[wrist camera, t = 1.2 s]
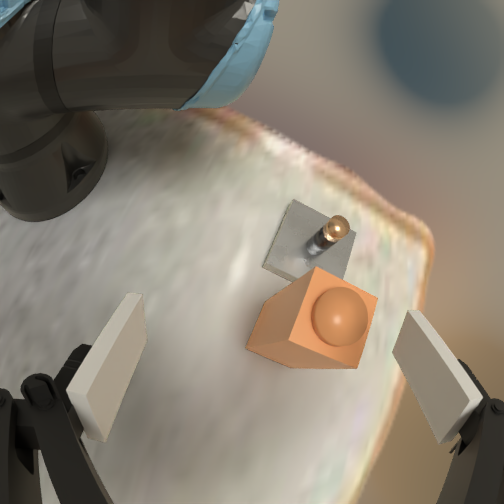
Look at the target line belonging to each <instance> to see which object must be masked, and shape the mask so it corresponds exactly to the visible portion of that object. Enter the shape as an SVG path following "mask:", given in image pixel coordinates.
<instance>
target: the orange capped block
mask: <svg viewBox="0 0 504 504" xmlns="http://www.w3.org/2000/svg"><path fill="white" fill-rule="evenodd" d="M377 300H378V298H377V297H375V296H373V295H371V294H369V293H367V292H365V291H363V290H361V289H360V288H358V287H356V286H354V285H352V284H350V283H348V282H346V281H344V280H342V279H340V278H338V277H336V276H334V275H332V274H330V273H328V272H326V271H324V270H322V269H320V268H319V267H317V266H315V267H314V268H313V269H311V270H310V271H308V272H307V273H305V274H304V275H303V276H301V277H300V278H298V279H297V280H296V281H294V282H293V283H291V284H290V285H288V286H287V287H286V288H284V289H283V290H281V291H280V292H278V293H277V294H275V295H274V296H273V297H271V298H270V299H268V300H267V301H265V303H264V305H263V308H262V310H261V312H260V315H259V317H258V319H257V322H256V324H255V326H254V329H253V331H252V333H251V336H250V338H249V340H248V343H247V345H246V347H245V349H248V350H250V351H252V352H254V353H257V354H259V355H261V356H264V357H266V358H268V359H271V360H273V361H276V362H278V363H280V364H283V365H285V366H288V367H290V368H305V369H357V367H358V364H359V361H360V358H361V355H362V352H363V349H364V346H365V342H366V339H367V336H368V332H369V329H370V325H371V322H372V318H373V315H374V311H375V307H376V304H377Z"/></svg>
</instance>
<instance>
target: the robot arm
mask: <svg viewBox="0 0 504 504" xmlns="http://www.w3.org/2000/svg"><path fill="white" fill-rule="evenodd" d="M278 6H279V0H0V204H1V205H2V206H3V207H4V209H5V210H6V211H7V212H8V213H10V214H11V215H12V216H14V217H16V218H18V219H21V220H25V221H43V220H47V219H51V218H54V217H56V216H59V215H61V214H63V213H65V212H67V211H68V210H70V209H71V208H73V207H74V206H76V205H77V204H78V203H79V202H81V201H82V200H83V199H84V198H85V197H86V196H87V195H88V194H89V193H90V191H91V190H92V189H93V188H94V186H95V185H96V183H97V182H98V180H99V179H100V177H101V175H102V173H103V170H104V168H105V165H106V161H107V156H108V144H107V139H106V135H105V131H104V128H103V125H102V123H101V121H100V119H99V118H98V116H97V115H96V114H95V113H94V112H93V111H96V110H113V109H148V108H166V109H173V110H175V111H180V110H186V109H188V108H220V107H222V106H226V105H228V104H231V103H233V102H234V101H236V100H237V99H238V98H239V97H240V96H241V95H242V94H243V93H244V92H245V91H246V89H247V88H248V87H249V85H250V83H251V82H252V80H253V79H254V77H255V75H256V73H257V71H258V69H259V67H260V65H261V62H262V60H263V58H264V56H265V53H266V50H267V48H268V46H269V43H270V40H271V37H272V33H273V29H274V26H273V24H272V21H273V20H274V17H275V16H276V13H277V12H278ZM147 341H148V340H147V332H146V323H145V314H144V304H143V294H136V293H127V294H126V296H125V297H124V299H123V300H122V302H121V303H120V305H119V306H118V308H117V309H116V311H115V312H114V314H113V315H112V317H111V318H110V320H109V321H108V323H107V324H106V326H105V327H104V329H103V330H102V332H101V334H100V335H99V337H98V338H97V340H96V341H95V343H94V344H93V346H91V345H86V344H82V345H80V346H79V347H77V348H76V349H75V350H73V352H72V353H71V355H70V356H69V358H68V360H67V361H66V362H65V364H64V367H62V368H61V370H60V371H59V373H58V374H57V376H56V378H55V379H54V381H53V379H52V378H51V377H50V376H48V375H47V374H42V373H39V374H33V375H31V376H28V377H27V378H26V379H25V380H24V381H23V383H22V385H21V393H22V395H23V397H24V398H25V399H13V397H12V396H11V394H10V393H9V391H7V390H6V389H1V388H0V504H42V497H41V488H40V477H39V463H38V450H41V452H42V456H43V459H44V462H45V465H46V467H47V470H48V473H49V476H50V479H51V481H52V484H53V486H54V489H55V491H56V494H57V496H58V499H59V501H60V503H61V504H114V503H113V501H112V499H111V498H110V496H109V494H108V492H107V490H106V489H105V487H104V485H103V483H102V481H101V479H100V477H99V475H98V474H97V472H96V470H95V468H94V466H93V463H92V461H91V459H90V457H89V455H88V453H87V451H86V449H85V446H84V444H83V442H82V440H81V438H80V437H81V434H82V432H83V430H84V431H85V433H86V435H87V437H88V438H90V439H93V440H97V441H101V442H104V443H106V441H107V438H108V436H109V433H110V430H111V428H112V425H113V422H114V420H115V417H116V415H117V412H118V410H119V407H120V405H121V402H122V400H123V397H124V395H125V392H126V390H127V387H128V385H129V383H130V380H131V378H132V375H133V373H134V371H135V368H136V366H137V364H138V361H139V359H140V357H141V354H142V352H143V350H144V347H145V345H146V343H147ZM392 353H393V355H394V357H395V359H396V360H397V362H398V364H399V366H400V368H401V370H402V372H403V374H404V375H405V377H406V379H407V381H408V383H409V385H410V387H411V389H412V391H413V393H414V395H415V397H416V399H417V401H418V403H419V405H420V406H421V409H422V411H423V413H424V415H425V417H426V419H427V421H428V423H429V425H430V427H431V429H432V432H433V434H434V436H435V438H436V440H437V442H438V444H442V443H446V442H449V441H452V440H453V439H454V437H455V436H456V435H457V433H458V432H459V433H460V435H461V438H460V439H459V441H458V442H457V443H456V444H455V445H454V447H453V448H452V449H451V451H450V453H452V452H453V451H454V450H455V449H456V450H455V453H454V456H453V459H452V463H451V466H450V469H449V472H448V474H447V477H446V480H445V483H444V486H443V488H442V491H441V493H440V496H439V498H438V501H437V503H436V504H504V402H503V401H501V400H499V399H495V398H494V399H490V397H489V396H488V394H487V393H486V391H485V390H484V388H483V387H482V385H481V384H480V383H479V381H478V380H476V377H475V375H474V374H472V371H471V370H470V369H469V367H468V366H467V365H466V364H465V363H464V362H462V361H461V360H460V359H456V358H455V356H454V355H453V354H452V352H451V351H450V349H449V348H448V347H447V345H446V344H445V343H444V341H443V340H442V339H441V337H440V336H439V335H438V333H437V332H436V331H435V329H434V328H433V327H432V326H431V324H430V323H429V322H428V321H427V319H426V318H425V317H424V315H423V314H422V313H421V312H420V310H408V311H407V314H406V317H405V319H404V322H403V325H402V328H401V330H400V333H399V336H398V338H397V341H396V344H395V346H394V349H393V351H392Z"/></svg>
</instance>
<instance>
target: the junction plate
mask: <svg viewBox="0 0 504 504" xmlns="http://www.w3.org/2000/svg"><path fill="white" fill-rule="evenodd" d="M355 236H356V232H354V231H352V230H351V229H350V226H349V223H348V221H347V220H346V219H345V218H344V217H342V216H339V215H336V216H333V217H332V218H329V217H327V216H325V215H323V214H321V213H319V212H318V211H316V210H314V209H312V208H310V207H308V206H306V205H304V204H302V203H300V202H298V201H297V200H295V199H293V201H292V202H291V203H290V205H289V207H288V209H287V211H286V214H285V216H284V218H283V221H282V223H281V225H280V228H279V230H278V232H277V235H276V237H275V239H274V242H273V244H272V246H271V249H270V251H269V253H268V256H267V258H266V260H265V263H264V265H263V268H265V269H267V270H269V271H271V272H273V273H275V274H277V275H279V276H281V277H283V278H285V279H288V280H290V281H292V282H294V281H296V280H297V279H298V278H300V277H301V276H303V275H304V274H305V273H307V272H308V271H310V270H311V269H313V268H314V267H315V266H317V267H319V268H320V269H322V270H324V271H326V272H328V273H330V274H332V275H334V276H336V277H338V278H340V279H342V280H343V277H344V274H345V271H346V267H347V264H348V260H349V257H350V253H351V250H352V246H353V243H354V239H355Z"/></svg>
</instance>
